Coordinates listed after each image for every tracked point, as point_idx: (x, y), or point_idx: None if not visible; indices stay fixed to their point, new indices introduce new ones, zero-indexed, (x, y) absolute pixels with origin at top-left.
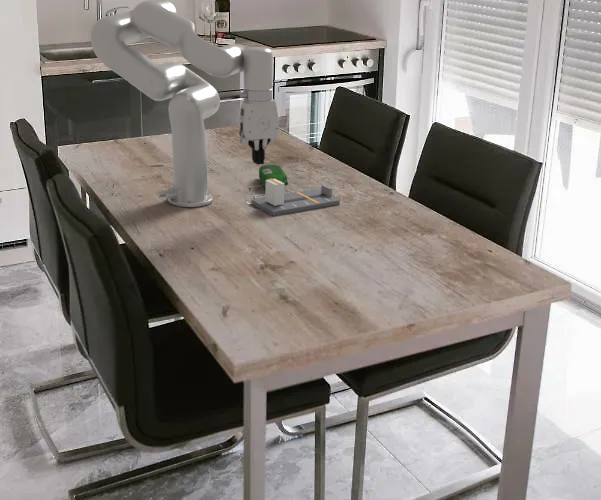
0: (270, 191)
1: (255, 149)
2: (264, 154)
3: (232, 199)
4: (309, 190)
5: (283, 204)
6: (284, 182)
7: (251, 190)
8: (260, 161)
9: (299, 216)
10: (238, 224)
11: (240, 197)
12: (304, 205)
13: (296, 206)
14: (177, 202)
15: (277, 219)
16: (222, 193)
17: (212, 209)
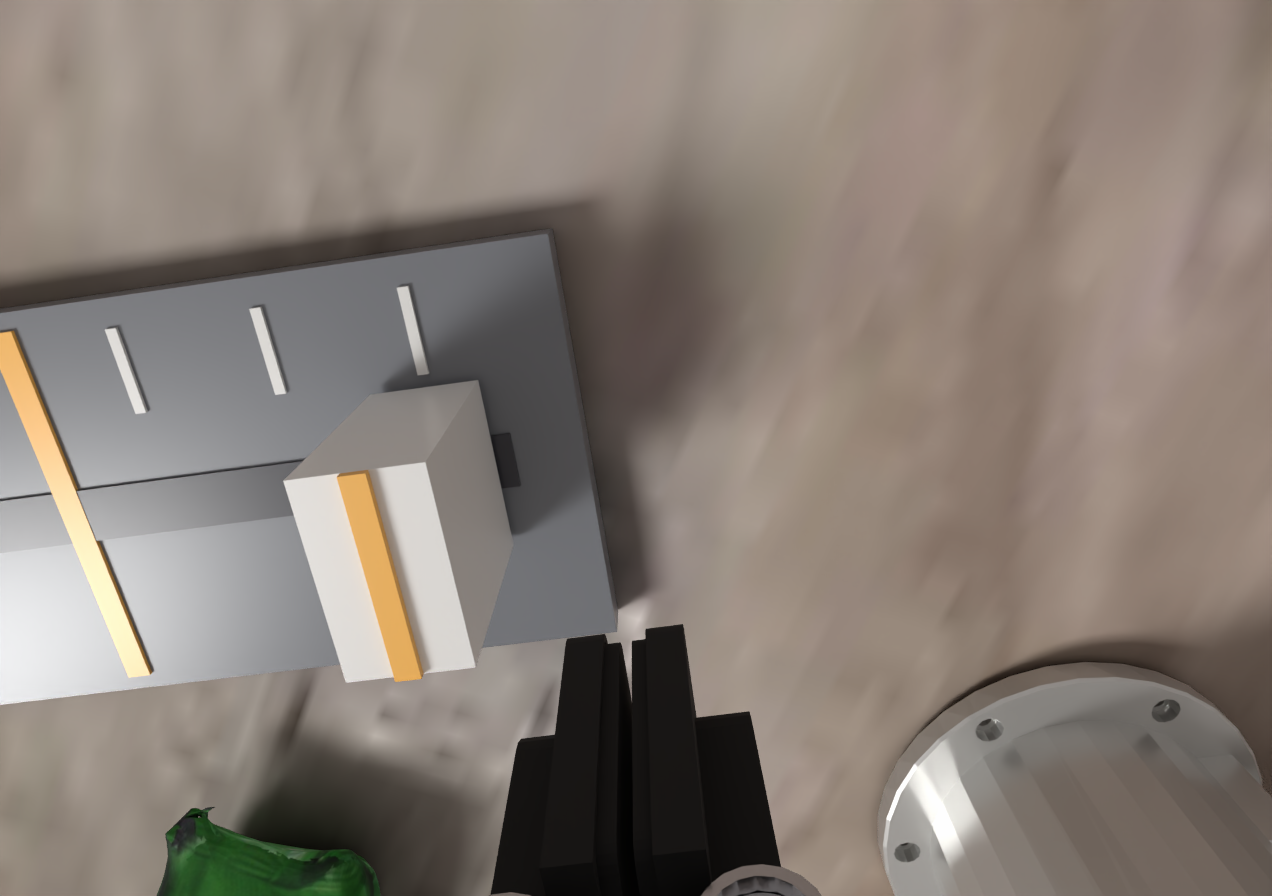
0: (472, 510)
1: (810, 889)
2: (508, 813)
3: None
4: (11, 690)
5: None
6: (201, 842)
7: None
8: (647, 656)
9: (293, 126)
10: (985, 107)
11: None
12: (164, 314)
13: (257, 308)
14: (1247, 746)
15: (547, 115)
16: None
17: (998, 579)
